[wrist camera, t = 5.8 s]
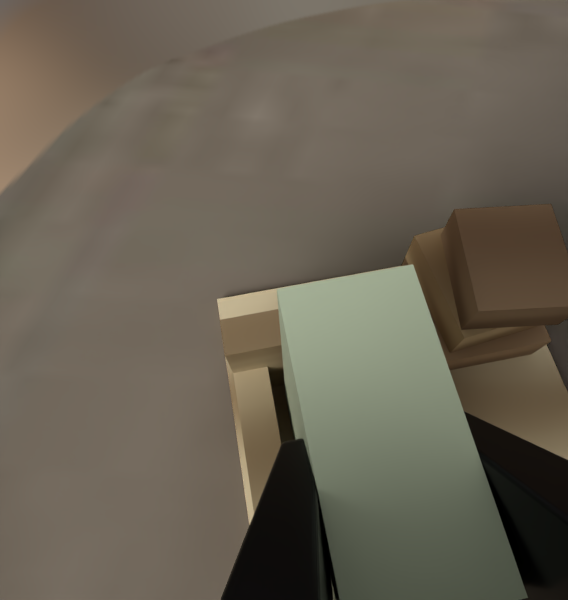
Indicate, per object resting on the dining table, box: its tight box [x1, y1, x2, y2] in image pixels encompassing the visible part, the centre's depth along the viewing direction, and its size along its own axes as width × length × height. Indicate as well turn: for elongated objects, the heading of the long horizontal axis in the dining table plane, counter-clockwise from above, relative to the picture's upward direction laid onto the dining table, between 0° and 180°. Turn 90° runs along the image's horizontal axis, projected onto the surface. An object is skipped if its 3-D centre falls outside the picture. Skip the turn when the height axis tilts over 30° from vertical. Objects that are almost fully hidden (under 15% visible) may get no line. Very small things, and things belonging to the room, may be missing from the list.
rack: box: [217, 204, 568, 525], centre depth 14 cm, size 10×11×5 cm
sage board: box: [277, 264, 528, 600], centre depth 11 cm, size 5×2×8 cm, turn 11°
